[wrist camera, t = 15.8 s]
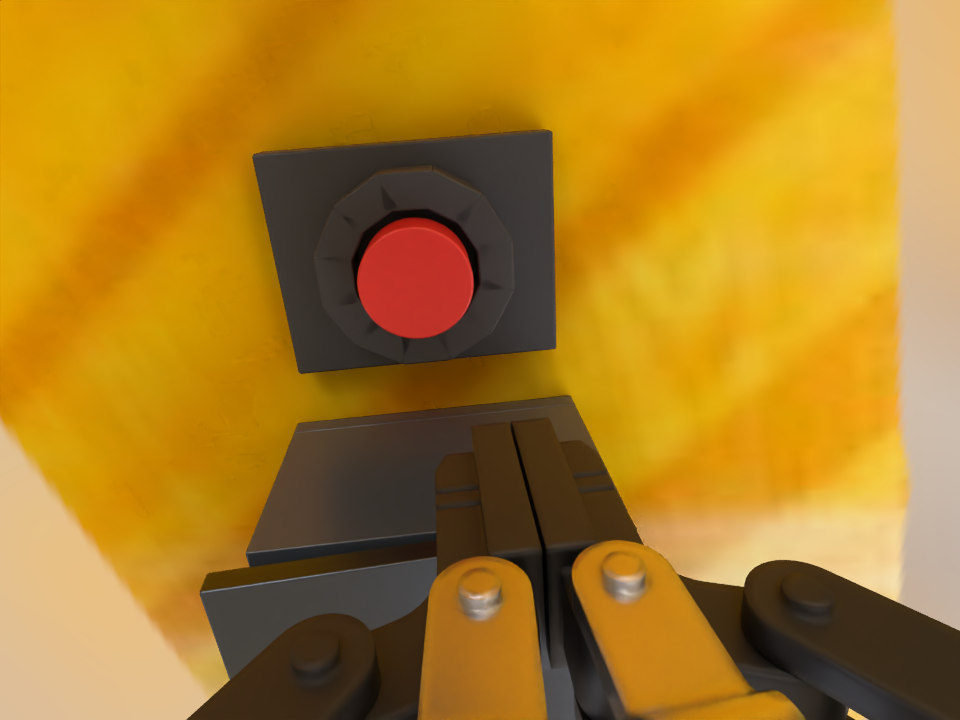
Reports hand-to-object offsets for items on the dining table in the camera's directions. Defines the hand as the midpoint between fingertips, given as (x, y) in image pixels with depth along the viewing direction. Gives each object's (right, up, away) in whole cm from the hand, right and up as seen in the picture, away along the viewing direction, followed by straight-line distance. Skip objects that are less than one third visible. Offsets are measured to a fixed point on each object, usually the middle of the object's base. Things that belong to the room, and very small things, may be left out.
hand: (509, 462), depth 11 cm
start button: (-3, +5, +8) cm, 10 cm away
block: (-3, +6, +11) cm, 13 cm away
